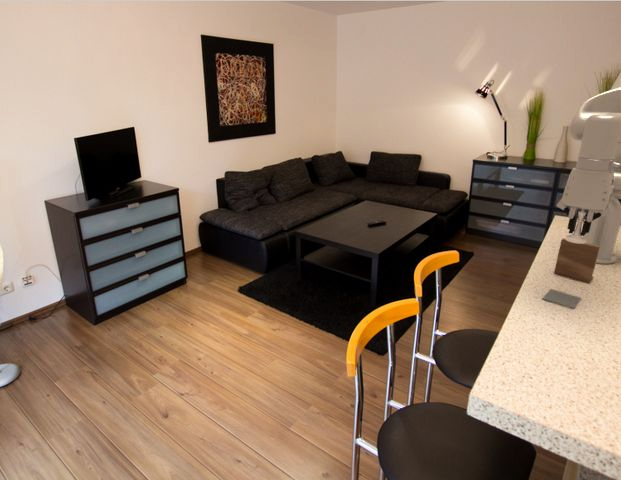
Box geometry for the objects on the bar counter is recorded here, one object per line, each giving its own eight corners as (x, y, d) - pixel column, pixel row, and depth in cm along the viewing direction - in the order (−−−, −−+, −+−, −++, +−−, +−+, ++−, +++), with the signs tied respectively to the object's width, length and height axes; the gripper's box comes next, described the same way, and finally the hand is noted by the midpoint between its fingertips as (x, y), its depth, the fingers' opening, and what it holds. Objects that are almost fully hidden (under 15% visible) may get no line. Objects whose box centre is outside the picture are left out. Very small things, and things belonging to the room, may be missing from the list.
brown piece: (558, 269, 136) (565, 235, 132) (593, 278, 130) (602, 243, 126) (553, 274, 133) (561, 239, 129) (589, 283, 126) (598, 247, 122)
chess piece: (589, 244, 108) (598, 207, 104) (569, 242, 109) (577, 206, 105) (581, 238, 112) (590, 202, 109) (562, 236, 113) (570, 201, 110)
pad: (550, 290, 122) (550, 289, 122) (581, 299, 117) (581, 297, 117) (542, 299, 117) (542, 298, 117) (574, 309, 112) (574, 308, 112)
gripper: (634, 167, 101) (615, 237, 107) (562, 159, 111) (548, 224, 118) (630, 171, 96) (610, 244, 102) (554, 163, 106) (540, 230, 113)
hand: (577, 233), depth 110 cm, fingers closed on chess piece
